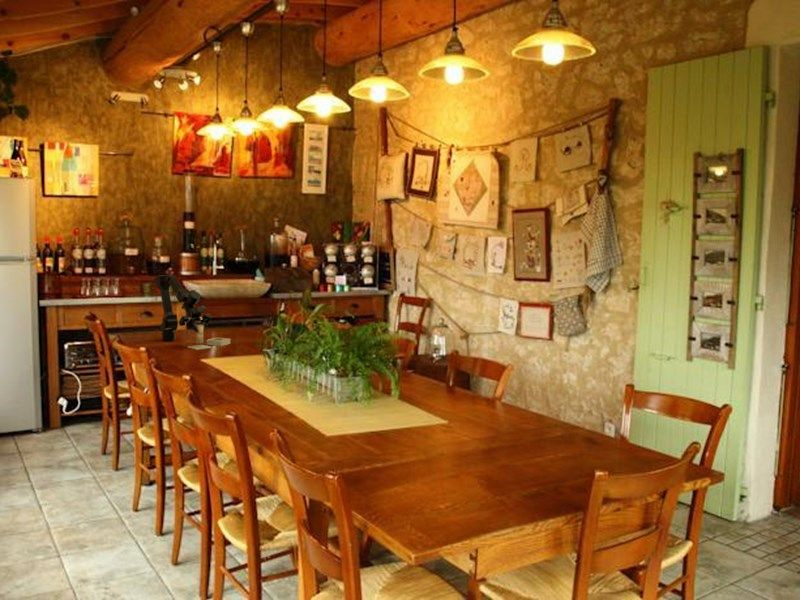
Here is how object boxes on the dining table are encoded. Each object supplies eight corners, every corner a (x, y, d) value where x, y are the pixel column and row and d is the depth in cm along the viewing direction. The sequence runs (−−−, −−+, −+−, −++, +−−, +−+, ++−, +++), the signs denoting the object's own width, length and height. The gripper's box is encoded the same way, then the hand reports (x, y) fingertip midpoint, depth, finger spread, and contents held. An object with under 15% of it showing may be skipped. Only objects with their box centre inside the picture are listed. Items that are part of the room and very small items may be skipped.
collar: (206, 344, 453) (206, 339, 453) (215, 342, 463) (215, 337, 463) (221, 346, 450) (221, 341, 450) (230, 343, 460) (230, 338, 460)
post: (194, 342, 443) (194, 325, 442) (200, 341, 445) (201, 324, 444) (198, 343, 440) (198, 325, 439) (204, 342, 443) (204, 325, 442)
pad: (187, 347, 443) (187, 346, 443) (202, 345, 450) (202, 344, 450) (196, 349, 436) (196, 348, 436) (212, 348, 443) (212, 347, 443)
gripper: (181, 301, 436) (192, 323, 430) (210, 300, 450) (221, 321, 443) (174, 314, 442) (184, 336, 436) (202, 312, 456) (213, 333, 449)
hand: (201, 331), depth 441 cm, fingers closed on post, 4 cm apart
